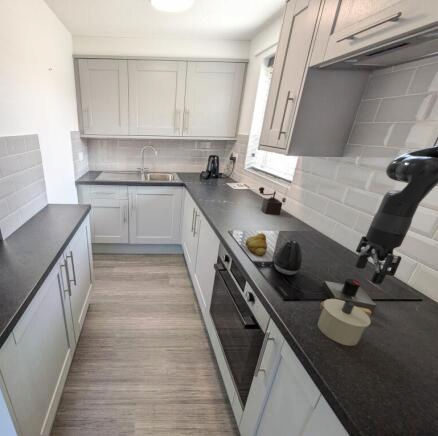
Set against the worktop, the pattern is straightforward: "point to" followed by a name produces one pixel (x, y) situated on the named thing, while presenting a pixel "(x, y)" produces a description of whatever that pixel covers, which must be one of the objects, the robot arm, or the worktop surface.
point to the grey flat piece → (358, 300)
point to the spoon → (358, 307)
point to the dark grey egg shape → (288, 258)
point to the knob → (351, 287)
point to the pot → (339, 330)
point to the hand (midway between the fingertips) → (367, 275)
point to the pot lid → (346, 313)
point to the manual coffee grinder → (270, 204)
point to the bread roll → (257, 244)
